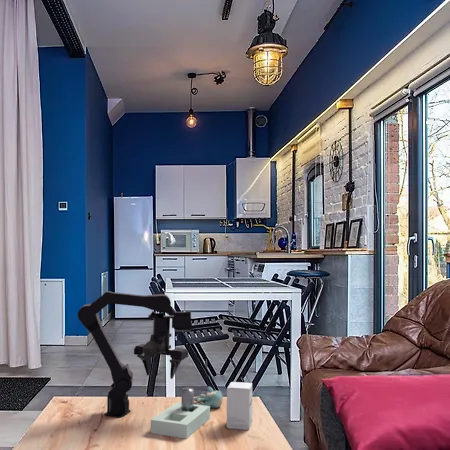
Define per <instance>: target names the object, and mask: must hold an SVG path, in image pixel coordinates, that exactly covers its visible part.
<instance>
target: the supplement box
mask: <svg viewBox="0 0 450 450" xmlns="http://www.w3.org/2000/svg"><path fill="white" fill-rule="evenodd" d="M252 423H253V382H241V381H240V382H239V381H231V382H230V383H229V385H228V386H227V387H226V429H232V430H233V429H234V430H242V431H243V430H245V431H249V430H250V429H251V425H252Z"/></svg>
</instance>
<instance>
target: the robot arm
mask: <svg viewBox="0 0 450 450" xmlns="http://www.w3.org/2000/svg"><path fill="white" fill-rule="evenodd" d="M171 303H172V302H171V299H170V297H169V296H168V295H167V294H164V293H159V294H157V293H156V294H148V295H140V294H131V293H122V292H113V291H110V290H107V291H105V292H104V293H103V294H102V295H100V296H99V297H98V298H97V299H96V300H94V301H93V302H91V303H87V304H84V305H83V306H82V307H80V309H78V311H77V318H78V320H79V322H80V323H81V324H82V325H83V327H84V328H85V329H86V331H88V332H89V333H90V334H91V336H92V337H93V340H94V342H95V343H96V346H97V347H98V349H99V351H100V353H101V354H102V356H103V359H104V360H105V362H106V364H107V366H108V368H109V371H110V375H111V379H112V382H113V383H112V384H110V385H109V389H108V392H107V394H108V395H107V397H106V398H107V399H106V403H107V404H106V409H107V410H106V412H105V413H103V414H104V416H107V417H108V416H109V417H115V418H122V417H124V416H125V415H127V414H129V413H130V412H131V409H130V399H129V394H127V393H128V392H129V391H130V390H131V389H132V386H133V380H134V377H133V376H134V373H133V372H132V370H131V369H130V367H129V366H130V365H129V364H128V363H126V365H124V364H123V363H122V362H121V360H120V359H119V356H118V355H117V352H116V351H115V349H114V347H113V345H112V343H111V342H110V339H109V337H108V336H107V334H106V332H105V330H104V328H103V326H102V322H101V319H100V318H101V317H100V314H99V312H101V311H102V310H103V309H104V308H105V307H106V306H108V305H109V304H110V305H122V306H130V307H131V306H133V307H141V308H146V309H148V310H151V312H150V313H149V314H148V316H147V318H148V319H153V321H152V324H153V326H152V328H153V329H152V333H151V334H150V339H149V340H148V341H147V342H146V343H141V344H138V345H135V346H134V348H133V355H136V357H137V358H139V359H140V360H141V361H142V364H143V366H144V370H145V373H146V376H150V375H151V371H152V360H153V358H157V356H158V355H162V356H169V357H170V358H171V359H169V363H170V373H169V374H170V376H169V377H170V379H171V380H172V379H174V377H175V375H176V373H177V369H178V368H179V365H180V364H181V362H182V361H184V360H185V359H187V358H188V357H189V350H188V349H187V348H181V347H176V348H174V349H172V345H170V337H171V338H172V333H170V332H171V331H170V330H171V329H173V330H174V332H191V331H192V324H193V322H192V311H189V310H188V311H187V310H186V311H176V310H175V308H173V306H172V304H171ZM165 314H167V315H165Z"/></svg>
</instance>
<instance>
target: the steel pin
mask: <svg viewBox="0 0 450 450" xmlns="http://www.w3.org/2000/svg"><path fill="white" fill-rule="evenodd" d="M194 398H195V389H194V388H193V387H188V386H187V387H183V388H181V399H180V400H181V411H188V412H193V411H194V404H195V401H194Z"/></svg>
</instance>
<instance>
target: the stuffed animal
mask: <svg viewBox="0 0 450 450" xmlns="http://www.w3.org/2000/svg"><path fill="white" fill-rule="evenodd" d="M205 393H206V394H204V393H201V394H200V395H197V396H194V404H196V405H204V406H210V409H211V408H213V409H216V408H220V407H221V406H222V405H223V401H224V397H223V394H222V391H220V390H215V389H213V388H212V387H211V386H207V391H206V392H205Z"/></svg>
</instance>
